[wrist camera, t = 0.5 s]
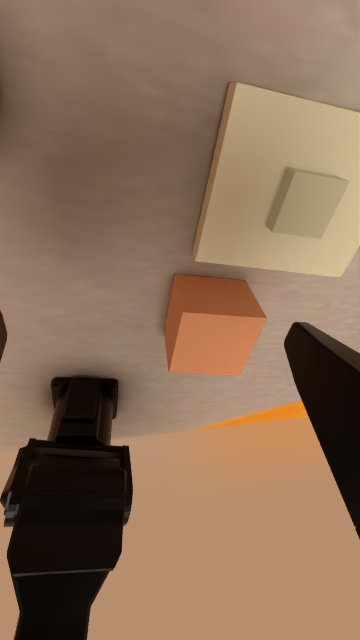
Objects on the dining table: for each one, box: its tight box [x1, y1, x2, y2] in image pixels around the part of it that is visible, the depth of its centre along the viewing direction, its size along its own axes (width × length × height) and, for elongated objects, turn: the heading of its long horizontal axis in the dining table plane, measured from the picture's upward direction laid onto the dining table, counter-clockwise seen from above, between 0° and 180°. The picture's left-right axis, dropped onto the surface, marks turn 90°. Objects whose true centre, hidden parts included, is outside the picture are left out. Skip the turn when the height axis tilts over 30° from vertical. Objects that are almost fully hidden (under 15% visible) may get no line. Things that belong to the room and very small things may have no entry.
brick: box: [164, 274, 267, 375], centre depth 23 cm, size 6×6×5 cm
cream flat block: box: [192, 82, 360, 277], centre depth 19 cm, size 10×12×3 cm
